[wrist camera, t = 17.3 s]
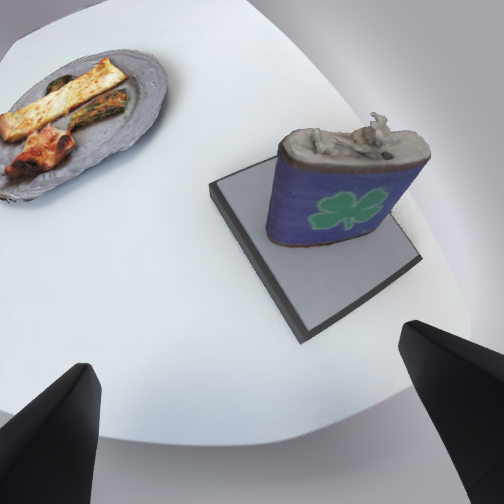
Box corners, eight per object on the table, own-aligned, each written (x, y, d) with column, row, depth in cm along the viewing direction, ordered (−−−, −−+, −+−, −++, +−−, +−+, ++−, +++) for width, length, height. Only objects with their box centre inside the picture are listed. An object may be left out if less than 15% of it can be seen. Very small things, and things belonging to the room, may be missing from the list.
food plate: (-9, 245, 23) (-29, 229, 19) (-4, 122, 30) (-13, 107, 27) (201, 132, 29) (198, 105, 25) (140, 47, 36) (136, 29, 33)
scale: (416, 264, 24) (429, 253, 22) (300, 344, 21) (307, 340, 19) (326, 147, 29) (331, 132, 26) (210, 196, 26) (207, 179, 24)
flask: (372, 204, 23) (433, 108, 14) (384, 236, 22) (460, 147, 12) (260, 218, 22) (277, 102, 12) (269, 255, 21) (295, 149, 11)
